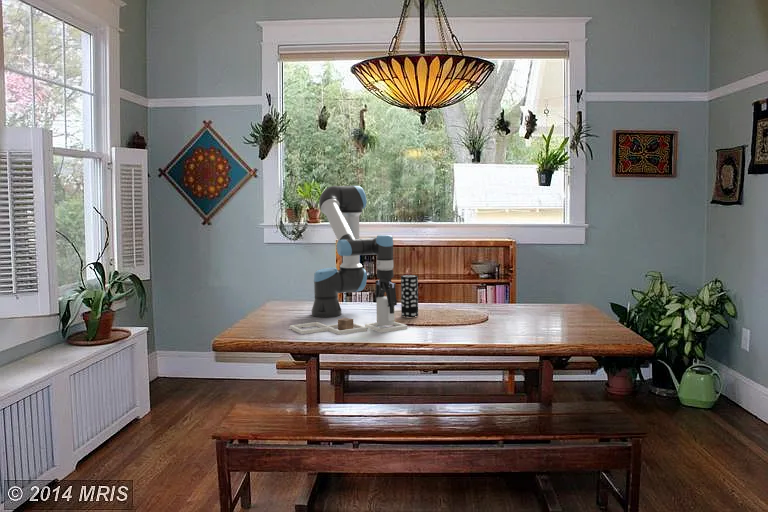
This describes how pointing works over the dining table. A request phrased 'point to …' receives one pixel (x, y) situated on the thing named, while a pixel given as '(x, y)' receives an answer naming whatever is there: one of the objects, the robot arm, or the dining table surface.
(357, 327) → the frame
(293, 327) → the frame
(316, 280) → the robot arm
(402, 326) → the frame
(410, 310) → the white-spotted black cylinder
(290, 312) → the dining table surface
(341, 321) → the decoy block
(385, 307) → the cup
